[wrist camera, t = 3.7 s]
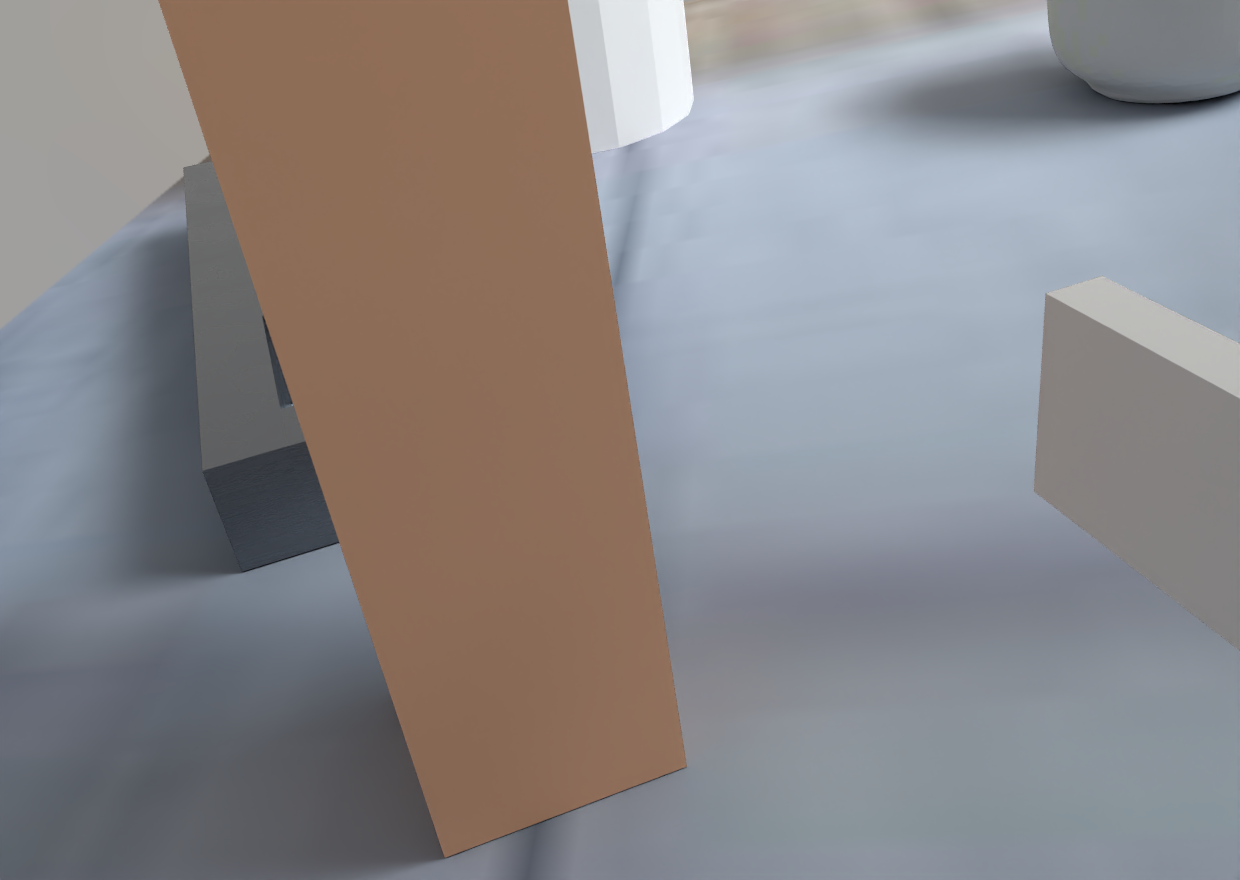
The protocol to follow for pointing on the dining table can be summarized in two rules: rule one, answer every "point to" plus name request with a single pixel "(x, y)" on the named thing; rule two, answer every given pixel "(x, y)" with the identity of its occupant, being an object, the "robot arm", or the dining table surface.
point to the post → (453, 377)
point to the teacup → (1150, 47)
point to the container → (631, 68)
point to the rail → (245, 397)
